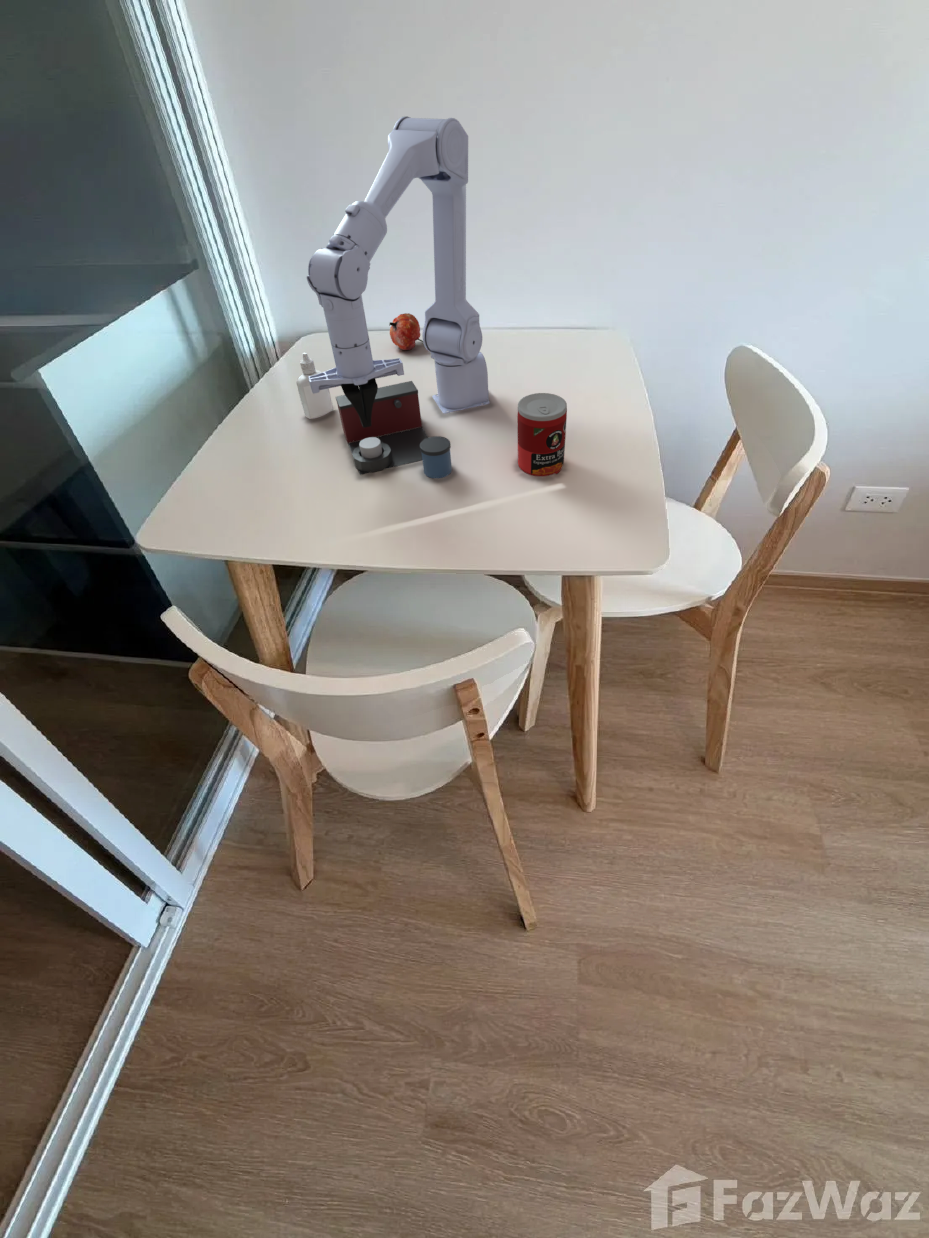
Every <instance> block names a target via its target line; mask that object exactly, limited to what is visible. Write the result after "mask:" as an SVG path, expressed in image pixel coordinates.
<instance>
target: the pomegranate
mask: <svg viewBox="0 0 929 1238" xmlns="http://www.w3.org/2000/svg"><path fill="white" fill-rule="evenodd" d="M388 325H389V327H390V328H389V336H390V339H391V342H392V343H393V344H394V345H395V346H396V347H398V348H399V349H400V350H403V351H411V350H413V349H414V348H415V346H416V344H417V343H416V341H419V342H422V343H423V339H420V338H421V326H420V323H419V320H418V318H417V317H416V316H415V315H414V314H411V313H410V312H409V313H408V312H405V313H400V314H398V315H397V317H394V318H393V320H392V322H390V321H389V324H388Z"/></svg>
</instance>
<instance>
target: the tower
mask: <svg viewBox="0 0 929 1238" xmlns="http://www.w3.org/2000/svg"><path fill="white" fill-rule="evenodd" d="M419 398H420V397H419V390H418V388H417V386H416V385H415V383H414V381H413V380H409V381H404V382H399V383H395V384H390V385H384V386H380V387H378V391H377V394H376V397H375V400H374V403H373V408H372V416H371V425H372V426H370V427H366V428H363V426H362V424H361V421H360V417H359V415H358V413H357V411H356V410H355V408H354V407H353V405H352V404H351V402H350V401H349V400H348V399H347V397H346V396H345V394H342V395H336V396H335V401H336V405H337V409H338V414H339V418H340V422H341V426H342V431H343V434H344V435H343V436H344V438H345V440H346V443H347V444H348V443H352V442H356V441H361V440H363V439H365V438H369V437H379V436H383V435H388V434H392V433H397V432H401V431H406V430H410V429H415V428H419V427H423V423H422V416H421V407H420V399H419Z"/></svg>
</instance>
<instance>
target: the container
mask: <svg viewBox="0 0 929 1238" xmlns="http://www.w3.org/2000/svg"><path fill="white" fill-rule="evenodd" d="M451 446H452V445H451V441H450V439H449V438H447V437H445V436H439V435H436V436H435V435H434V436H428V438H426V439H424V440H423V441H422V442H421V443H420V451H421V453H422V461H421V462H422V469H423V474H424V476H426V477H428V478H431V479H442V478H445V477H447V476H449V475H451V473H452V472H453V467H452V457H451V456H452V455H451Z"/></svg>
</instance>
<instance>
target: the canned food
mask: <svg viewBox="0 0 929 1238" xmlns="http://www.w3.org/2000/svg"><path fill="white" fill-rule="evenodd" d="M567 415H568V404H567V401H566V400H565V399H564V398H563V397H561V396H560V395H558V394H555V393H549V392H537V393H531V394H528V395H526V396H524V397H522V398H521V399H520V400H518V402H517V415H516V417H517V420H516V421H517V425H516V426H517V427H516V428H517V464H518V467H519V469H520V470H521V472H524V473H525V474H526V475H530V476H534V477H548V476H552V475H558V474H559V473H560V472H561V471H562V468H563V466H564V462H565V449H566V434H567V433H566V432H567V418H568V416H567Z"/></svg>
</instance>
